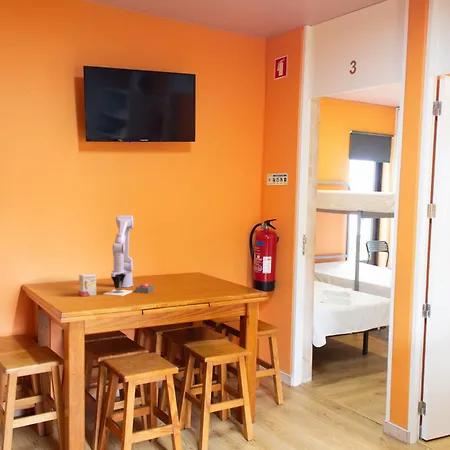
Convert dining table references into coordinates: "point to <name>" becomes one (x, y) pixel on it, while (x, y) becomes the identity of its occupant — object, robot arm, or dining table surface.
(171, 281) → the dining table surface
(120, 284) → the grey rounded cylinder
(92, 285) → the ink box
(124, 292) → the paper sheet
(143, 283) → the button
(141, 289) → the button housing
